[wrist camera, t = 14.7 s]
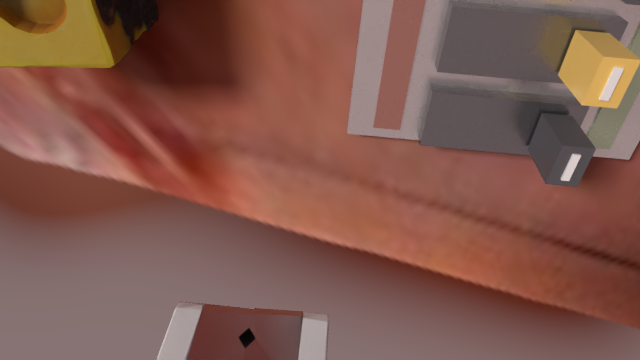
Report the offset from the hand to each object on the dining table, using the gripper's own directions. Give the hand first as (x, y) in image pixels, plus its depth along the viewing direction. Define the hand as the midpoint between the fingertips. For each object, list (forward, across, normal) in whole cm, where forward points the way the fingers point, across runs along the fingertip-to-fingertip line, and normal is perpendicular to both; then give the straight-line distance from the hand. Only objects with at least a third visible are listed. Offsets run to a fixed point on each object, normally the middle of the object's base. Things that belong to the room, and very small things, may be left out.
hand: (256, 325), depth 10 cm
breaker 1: (+30, -20, +12) cm, 38 cm away
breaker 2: (+30, -20, +5) cm, 37 cm away
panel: (+34, -16, +5) cm, 37 cm away
